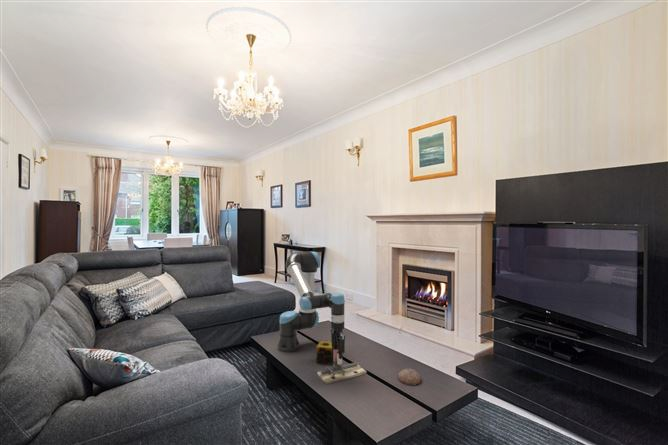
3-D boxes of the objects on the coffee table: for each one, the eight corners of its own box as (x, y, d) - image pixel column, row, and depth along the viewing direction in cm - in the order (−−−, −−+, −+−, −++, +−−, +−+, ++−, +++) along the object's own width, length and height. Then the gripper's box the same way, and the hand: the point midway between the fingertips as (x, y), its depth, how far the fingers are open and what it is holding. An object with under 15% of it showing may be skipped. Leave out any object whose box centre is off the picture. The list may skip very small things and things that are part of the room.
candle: (332, 364, 193) (332, 348, 193) (315, 363, 195) (315, 346, 195) (335, 357, 203) (335, 341, 203) (320, 356, 205) (319, 340, 205)
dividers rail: (320, 373, 180) (320, 368, 180) (356, 364, 190) (356, 360, 190) (327, 380, 172) (327, 375, 172) (364, 371, 182) (364, 366, 182)
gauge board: (317, 374, 181) (317, 371, 181) (355, 365, 192) (355, 362, 192) (326, 383, 170) (326, 381, 170) (366, 373, 182) (366, 371, 182)
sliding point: (332, 368, 184) (332, 349, 184) (339, 367, 186) (339, 347, 186) (341, 376, 175) (341, 355, 175) (348, 374, 177) (348, 354, 177)
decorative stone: (412, 388, 166) (412, 378, 166) (393, 380, 175) (393, 370, 175) (425, 380, 174) (425, 370, 174) (406, 372, 183) (406, 363, 183)
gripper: (325, 318, 189) (325, 357, 190) (338, 326, 174) (338, 369, 174) (336, 316, 193) (337, 355, 193) (350, 324, 177) (351, 367, 178)
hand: (337, 362), depth 184 cm, fingers closed on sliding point, 4 cm apart
